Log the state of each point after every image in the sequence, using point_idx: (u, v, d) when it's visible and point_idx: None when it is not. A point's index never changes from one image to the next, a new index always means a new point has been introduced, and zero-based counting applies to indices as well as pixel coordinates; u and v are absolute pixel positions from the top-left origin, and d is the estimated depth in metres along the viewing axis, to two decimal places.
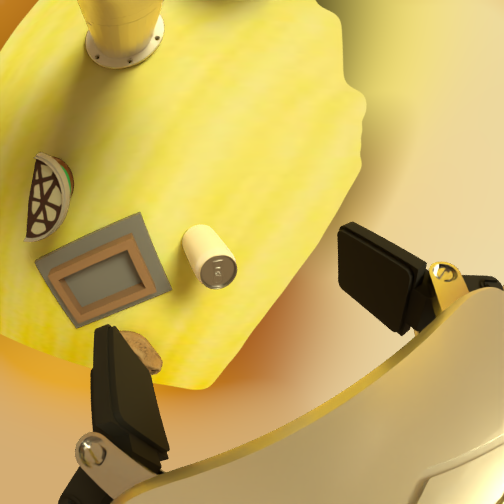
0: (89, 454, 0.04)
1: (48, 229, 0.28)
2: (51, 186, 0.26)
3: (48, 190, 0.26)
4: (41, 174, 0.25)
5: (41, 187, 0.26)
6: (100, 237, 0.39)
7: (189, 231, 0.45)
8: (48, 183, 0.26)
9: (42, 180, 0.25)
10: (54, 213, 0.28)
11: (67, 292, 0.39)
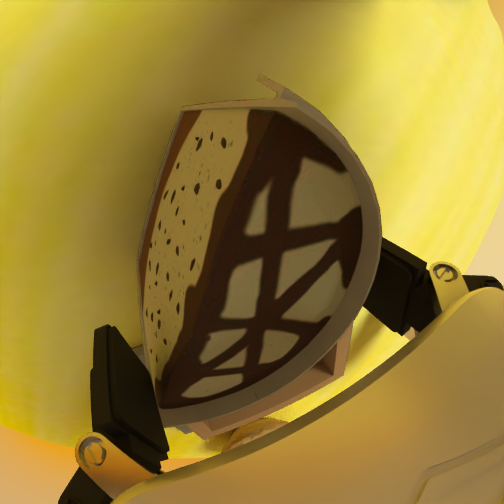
0: (89, 454, 0.04)
1: (252, 380, 0.10)
2: (318, 265, 0.07)
3: (300, 281, 0.08)
4: (288, 211, 0.06)
5: (271, 272, 0.07)
6: None
7: None
8: (310, 254, 0.07)
9: (285, 241, 0.06)
10: (291, 343, 0.10)
11: None
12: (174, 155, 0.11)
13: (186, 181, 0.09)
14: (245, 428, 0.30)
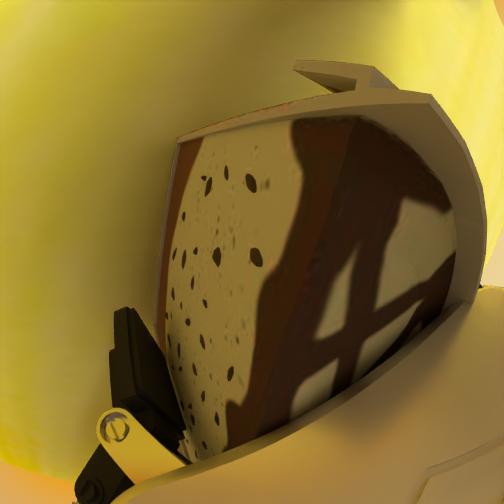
0: (111, 431, 0.05)
1: None
2: (400, 336, 0.05)
3: (378, 361, 0.05)
4: (376, 287, 0.03)
5: (347, 368, 0.04)
6: None
7: None
8: (394, 329, 0.04)
9: (368, 327, 0.04)
10: None
11: None
12: (177, 201, 0.09)
13: (198, 241, 0.06)
14: None
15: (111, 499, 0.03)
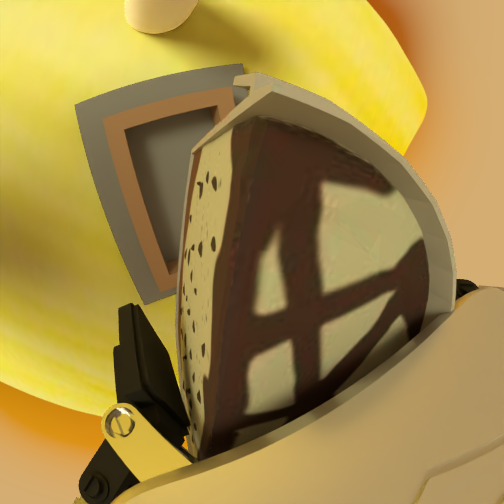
0: (116, 426, 0.05)
1: None
2: (375, 328, 0.05)
3: (351, 353, 0.05)
4: (317, 270, 0.04)
5: (307, 353, 0.05)
6: (106, 180, 0.21)
7: (128, 19, 0.15)
8: (361, 318, 0.05)
9: (320, 311, 0.04)
10: None
11: None
12: (189, 206, 0.10)
13: (195, 238, 0.07)
14: None
15: (116, 495, 0.04)
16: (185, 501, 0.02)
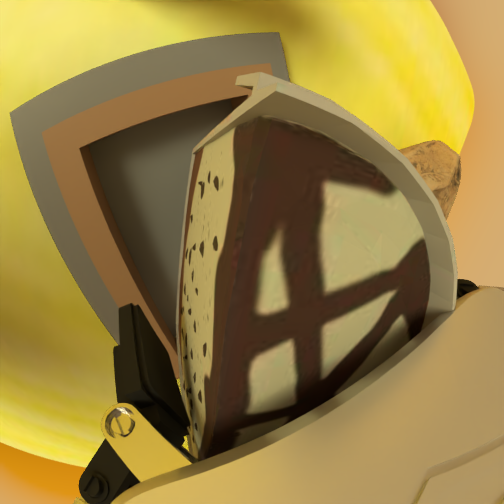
0: (116, 426, 0.05)
1: None
2: (376, 328, 0.05)
3: (353, 353, 0.05)
4: (319, 270, 0.04)
5: (309, 353, 0.05)
6: (68, 231, 0.12)
7: None
8: (363, 318, 0.05)
9: (322, 311, 0.04)
10: None
11: None
12: (190, 206, 0.10)
13: (196, 238, 0.07)
14: None
15: (116, 495, 0.04)
16: (185, 501, 0.02)
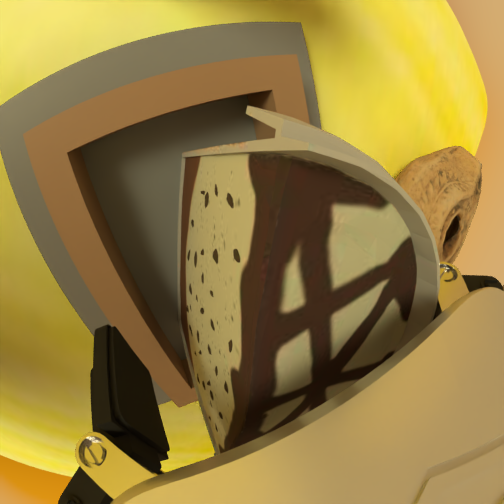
0: (89, 454, 0.04)
1: None
2: (373, 312, 0.06)
3: (355, 334, 0.06)
4: (328, 272, 0.05)
5: (321, 338, 0.05)
6: (60, 248, 0.11)
7: None
8: (363, 305, 0.06)
9: (331, 303, 0.05)
10: None
11: None
12: (187, 210, 0.10)
13: (204, 244, 0.08)
14: None
15: None
16: (185, 501, 0.02)
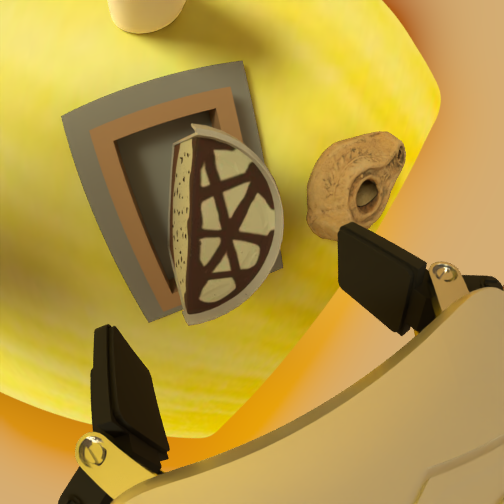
0: (89, 454, 0.04)
1: (242, 285, 0.18)
2: (246, 197, 0.15)
3: (239, 207, 0.15)
4: (217, 173, 0.14)
5: (220, 203, 0.15)
6: (99, 195, 0.20)
7: (114, 20, 0.13)
8: (238, 191, 0.15)
9: (221, 186, 0.14)
10: (255, 252, 0.17)
11: None
12: (174, 171, 0.20)
13: (180, 179, 0.17)
14: None
15: None
16: (185, 501, 0.02)
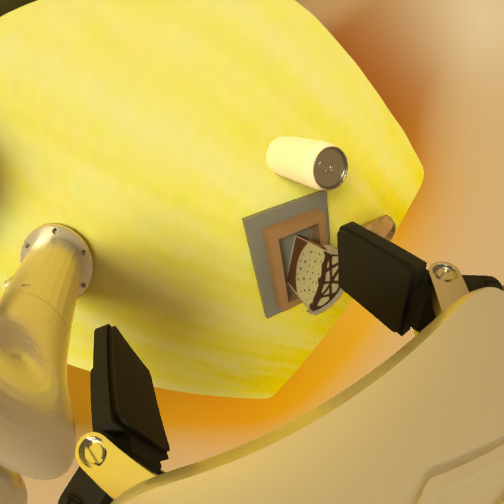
0: (89, 454, 0.04)
1: (331, 299, 0.45)
2: None
3: (335, 272, 0.42)
4: (331, 263, 0.41)
5: (330, 272, 0.42)
6: (260, 259, 0.47)
7: (272, 168, 0.40)
8: (336, 267, 0.42)
9: (332, 267, 0.41)
10: (337, 286, 0.44)
11: None
12: (299, 250, 0.47)
13: (310, 259, 0.44)
14: None
15: None
16: (185, 501, 0.02)
